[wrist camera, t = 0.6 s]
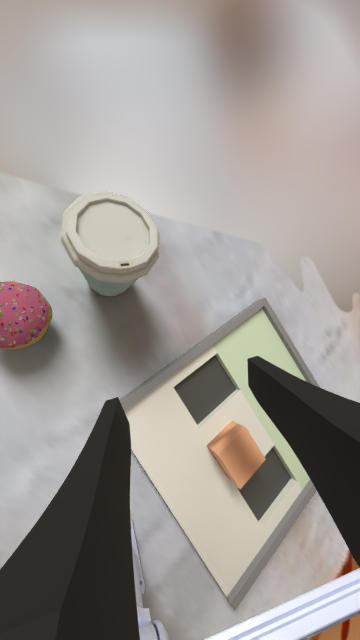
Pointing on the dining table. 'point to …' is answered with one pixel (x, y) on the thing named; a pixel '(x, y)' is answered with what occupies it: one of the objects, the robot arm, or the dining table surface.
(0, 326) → the cupcake
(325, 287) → the dining table surface
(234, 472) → the block
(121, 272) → the disposable coffee cup
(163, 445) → the sectioned serving tray
